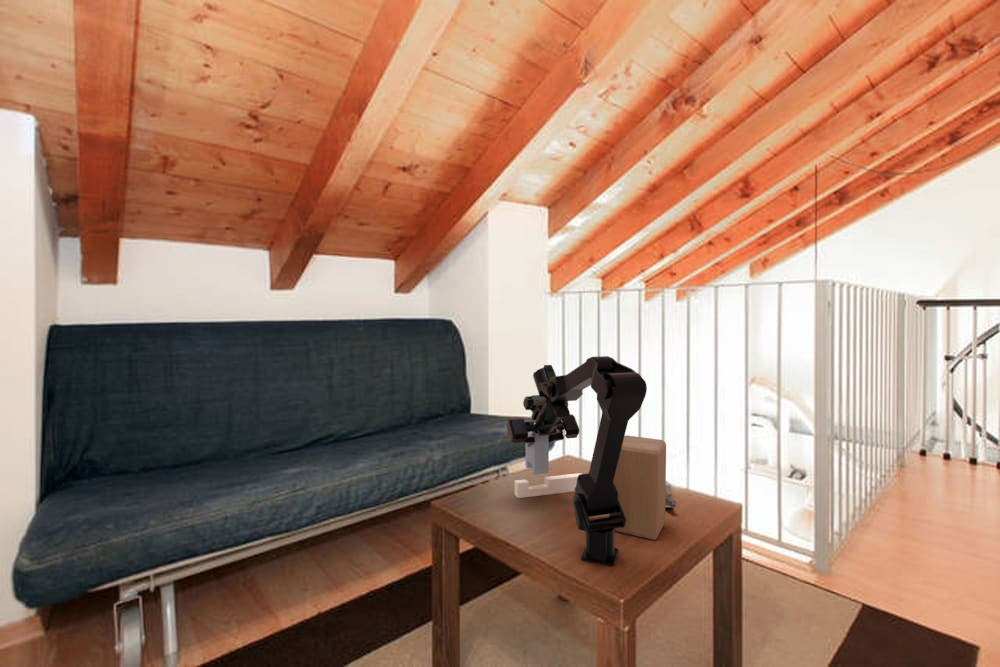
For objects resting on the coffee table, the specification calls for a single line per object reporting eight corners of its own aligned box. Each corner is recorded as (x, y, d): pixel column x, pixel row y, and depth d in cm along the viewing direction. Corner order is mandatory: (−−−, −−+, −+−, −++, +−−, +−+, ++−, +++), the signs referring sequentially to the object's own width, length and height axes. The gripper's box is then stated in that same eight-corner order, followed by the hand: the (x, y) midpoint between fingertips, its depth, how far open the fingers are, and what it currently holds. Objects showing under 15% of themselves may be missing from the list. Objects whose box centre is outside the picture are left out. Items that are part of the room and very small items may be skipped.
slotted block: (548, 473, 123) (548, 433, 122) (534, 474, 122) (534, 435, 121) (538, 465, 129) (538, 428, 129) (525, 466, 128) (525, 429, 128)
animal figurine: (646, 503, 123) (645, 483, 124) (662, 502, 123) (661, 483, 124) (665, 514, 111) (664, 492, 112) (683, 513, 112) (682, 491, 112)
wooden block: (623, 515, 113) (623, 433, 112) (665, 524, 108) (667, 439, 107) (611, 531, 104) (612, 443, 103) (657, 542, 99) (658, 450, 98)
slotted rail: (584, 490, 129) (585, 475, 129) (517, 498, 123) (517, 483, 123) (580, 486, 131) (581, 473, 131) (514, 495, 125) (514, 480, 125)
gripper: (574, 385, 124) (557, 417, 134) (509, 388, 118) (496, 421, 129) (588, 420, 116) (569, 451, 127) (519, 425, 111) (505, 457, 122)
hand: (535, 444), depth 126 cm, fingers closed on slotted block, 4 cm apart
